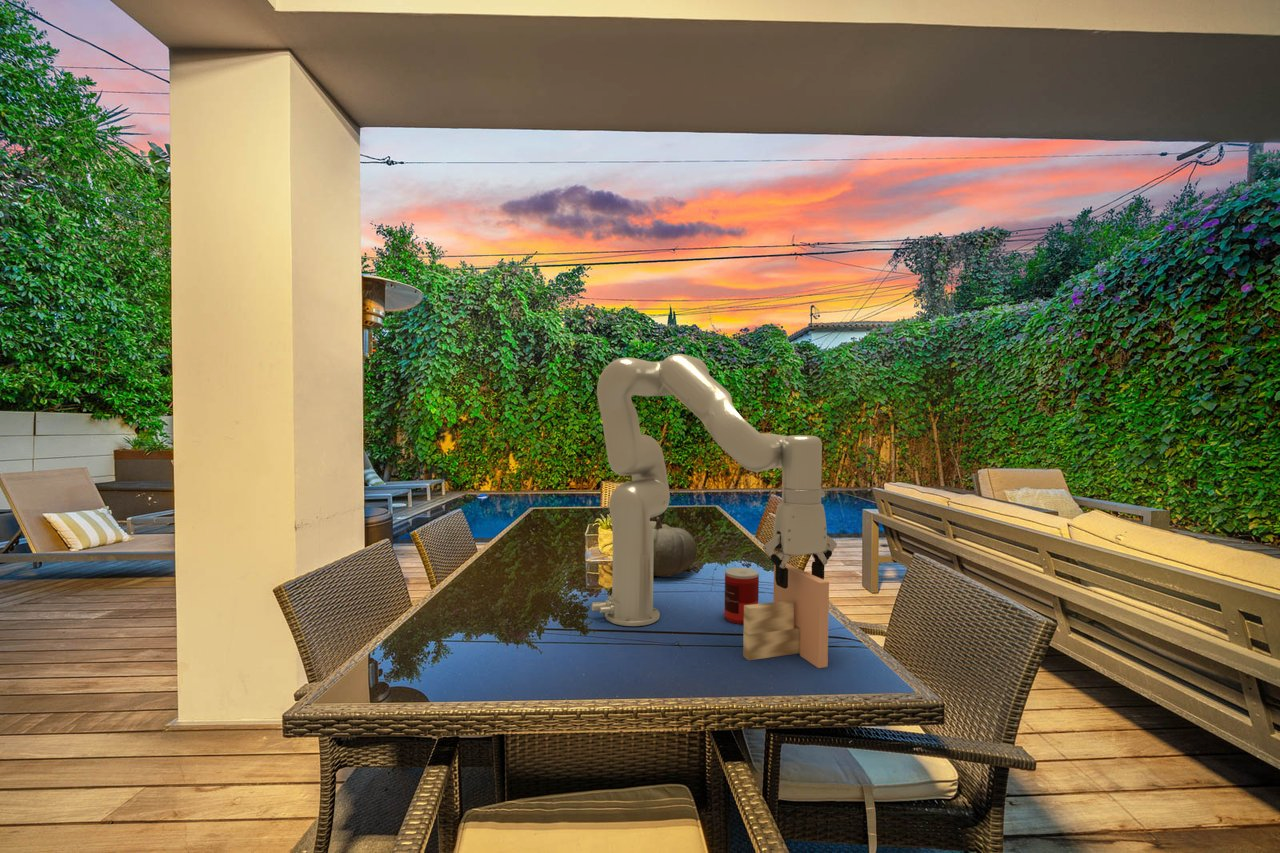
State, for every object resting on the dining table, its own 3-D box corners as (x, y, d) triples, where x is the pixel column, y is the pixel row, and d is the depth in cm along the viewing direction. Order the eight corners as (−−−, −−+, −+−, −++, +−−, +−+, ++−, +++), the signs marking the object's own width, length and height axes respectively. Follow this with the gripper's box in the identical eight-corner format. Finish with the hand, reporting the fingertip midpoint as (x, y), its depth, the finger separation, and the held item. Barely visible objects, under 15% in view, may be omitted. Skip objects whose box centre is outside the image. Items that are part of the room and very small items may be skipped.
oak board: (748, 660, 110) (749, 608, 110) (743, 656, 112) (743, 605, 111) (827, 649, 116) (827, 600, 115) (821, 645, 117) (821, 597, 117)
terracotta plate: (818, 668, 107) (820, 582, 106) (772, 636, 122) (774, 562, 122) (827, 666, 107) (829, 582, 107) (781, 635, 122) (782, 561, 122)
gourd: (602, 571, 162) (611, 510, 164) (619, 564, 186) (627, 511, 188) (689, 586, 157) (698, 523, 160) (695, 577, 181) (702, 523, 184)
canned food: (761, 615, 135) (762, 569, 135) (753, 626, 128) (754, 577, 127) (729, 610, 138) (730, 565, 138) (720, 621, 131) (720, 573, 131)
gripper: (826, 493, 120) (824, 576, 121) (753, 496, 115) (751, 583, 115) (850, 498, 113) (848, 586, 114) (773, 501, 108) (772, 594, 108)
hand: (799, 584), depth 114 cm, fingers open, 7 cm apart
